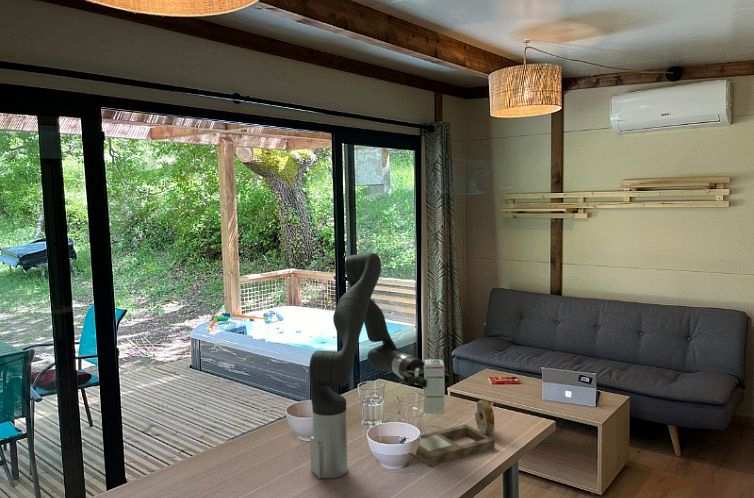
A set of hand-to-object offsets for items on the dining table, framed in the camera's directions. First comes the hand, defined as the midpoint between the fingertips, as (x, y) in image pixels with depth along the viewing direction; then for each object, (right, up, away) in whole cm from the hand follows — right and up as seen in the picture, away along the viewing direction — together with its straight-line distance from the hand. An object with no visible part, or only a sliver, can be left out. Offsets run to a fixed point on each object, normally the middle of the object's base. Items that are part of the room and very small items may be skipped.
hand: (438, 381), depth 163 cm
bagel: (+17, -20, +18) cm, 32 cm away
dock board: (+3, -21, +6) cm, 22 cm away
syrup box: (-1, -9, +2) cm, 9 cm away
